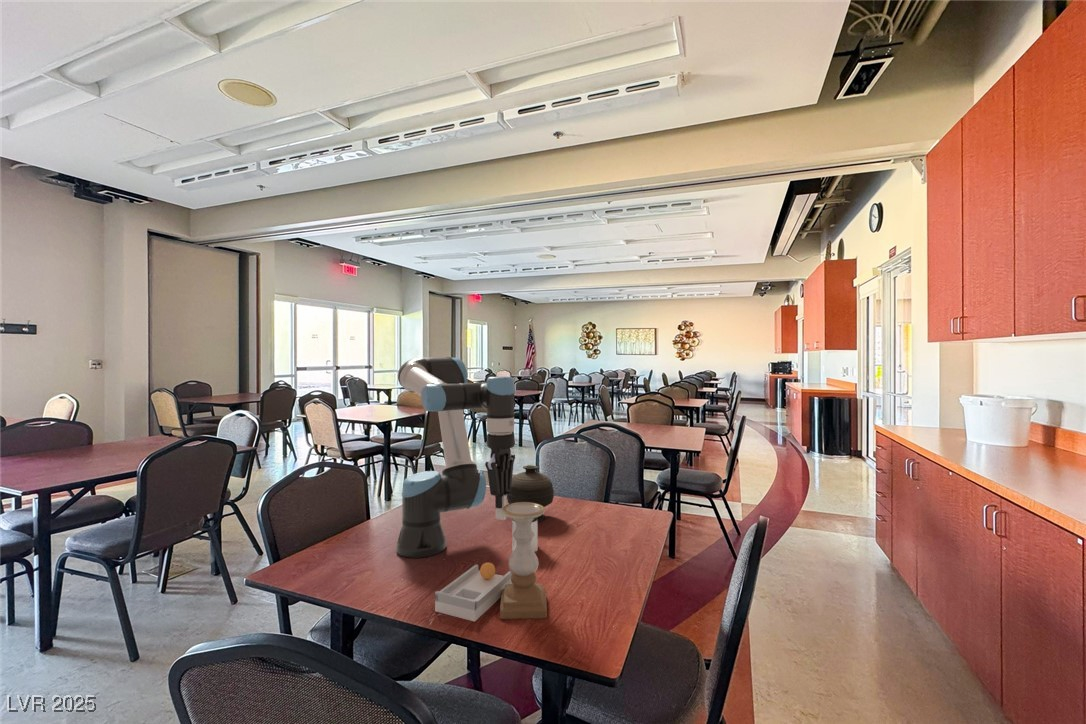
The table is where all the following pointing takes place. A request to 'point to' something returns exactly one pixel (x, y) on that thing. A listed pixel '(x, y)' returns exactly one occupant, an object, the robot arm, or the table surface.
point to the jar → (534, 540)
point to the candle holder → (523, 568)
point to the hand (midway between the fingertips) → (501, 518)
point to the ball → (487, 570)
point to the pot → (531, 488)
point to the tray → (470, 594)
